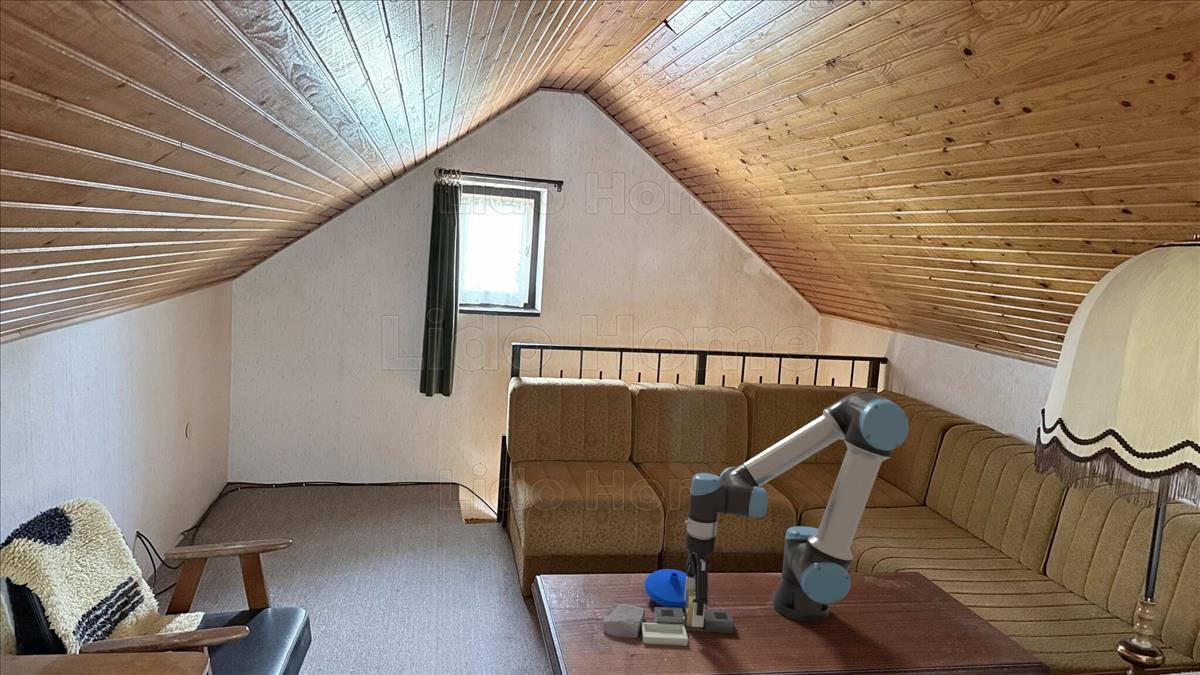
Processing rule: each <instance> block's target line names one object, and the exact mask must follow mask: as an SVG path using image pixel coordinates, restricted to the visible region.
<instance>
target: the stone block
mask: <svg viewBox="0 0 1200 675" xmlns="http://www.w3.org/2000/svg"><path fill="white" fill-rule="evenodd" d="M645 613H646V609H645V608H643V607H639V606H637V605H632V604H627V603H621V604H615V605H612V606H609V609H608V610H607V612H606V613H605V615H604V617H603V622H602V627H603V631H604V632H605V634H607V635H611V636H614V637H623V638H629V639H634V638H636V639H637V638H639V634H640V632H641V622H644V620H645V615H646V614H645Z"/></svg>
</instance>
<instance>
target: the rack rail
mask: <svg viewBox="0 0 1200 675" xmlns="http://www.w3.org/2000/svg"><path fill="white" fill-rule="evenodd" d="M653 612H654V613H653V621H654V623H665V624H684V626H685V617H684V614H685V612H684V610H683V608H668V607H664V606H661V607H660V606H655V607H654V610H653ZM685 627H686V626H685ZM703 628H704V629H686V628H685V630H686V632H705V633H722V634H723V633H727V634H729V633H730V634H733V633H734V631H735V630H734V629H735V620H734V618H733V615H732V613H731V611H730V610H729V609H727V610H726V609H724V610H723V609H722V610H721V609H706V608H705V613H704V623H703Z"/></svg>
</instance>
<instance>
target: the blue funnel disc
mask: <svg viewBox="0 0 1200 675" xmlns="http://www.w3.org/2000/svg"><path fill="white" fill-rule="evenodd" d="M686 577H688V576H687V574H686V572H684V571H682V570H679V569H678V570H677V569H671V568H665V569H664V568H663V569H658V570H655V571H653V572H651V573H650V574H648V576H647V577H646V578H645V582H644V587H645V588H644V589H645V592H646V594H647V596H648V597H649V598H650V599H651V600H652V601H653V602H655V603H656V604H658V605H660V606H661V607H666V608H682V609H685V602H686V601H684V596H685V586H686Z"/></svg>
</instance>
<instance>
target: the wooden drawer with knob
mask: <svg viewBox="0 0 1200 675" xmlns="http://www.w3.org/2000/svg"><path fill="white" fill-rule="evenodd" d="M693 599H696V598H695V589H687V590H686V602H685V608H684V617H685V629H703V628H704V626H703V627H694V626H692V619H693V608H694V602H693ZM703 630H704V629H703Z"/></svg>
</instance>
